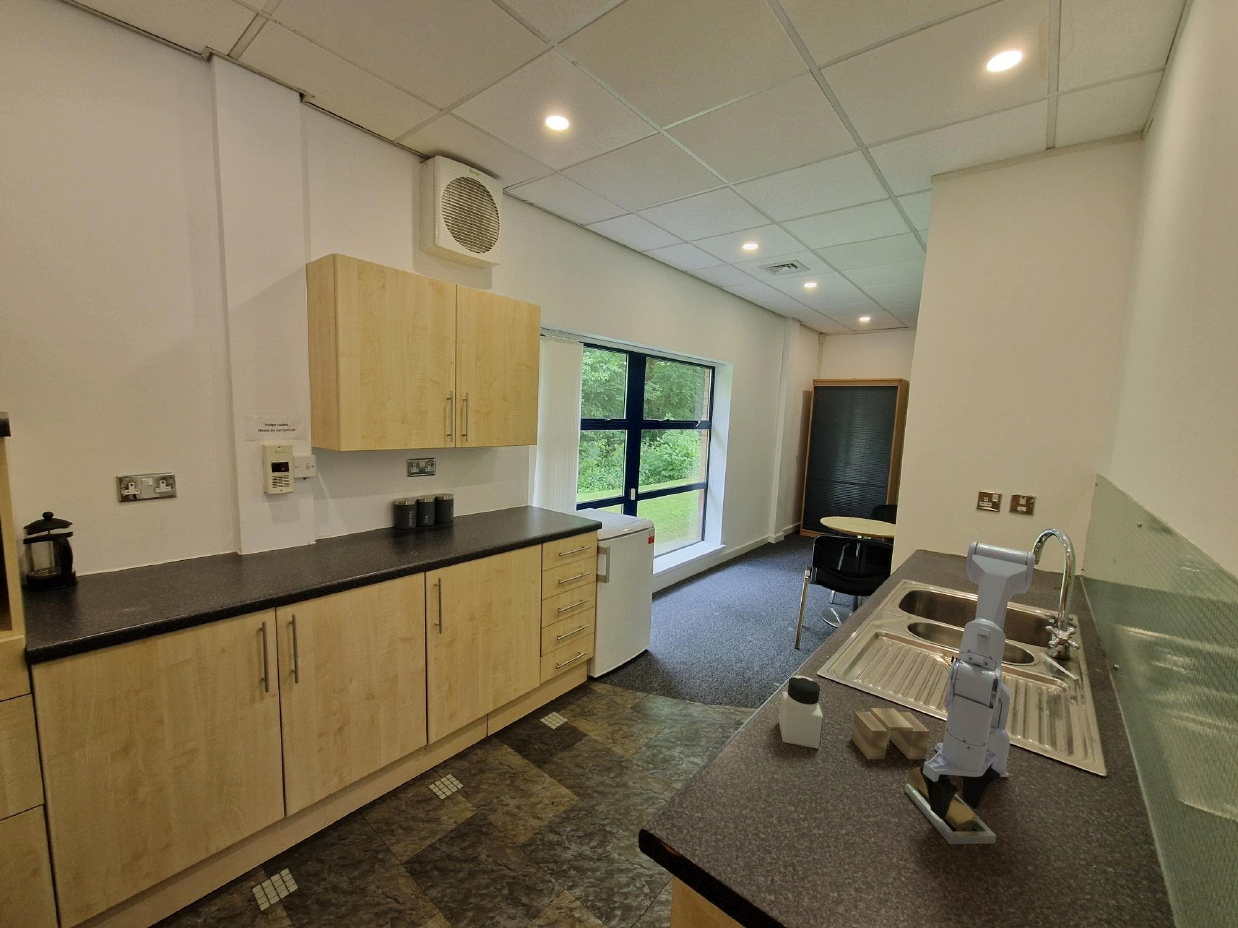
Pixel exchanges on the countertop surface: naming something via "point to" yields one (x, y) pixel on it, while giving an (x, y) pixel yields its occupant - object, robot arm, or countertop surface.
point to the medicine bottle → (801, 713)
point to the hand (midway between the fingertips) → (953, 809)
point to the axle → (957, 810)
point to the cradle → (951, 837)
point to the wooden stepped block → (904, 733)
